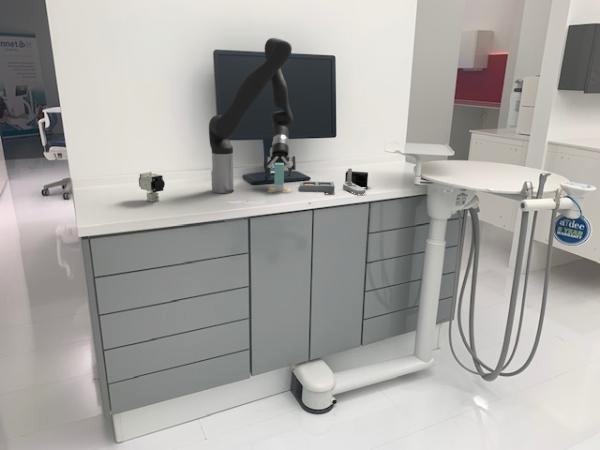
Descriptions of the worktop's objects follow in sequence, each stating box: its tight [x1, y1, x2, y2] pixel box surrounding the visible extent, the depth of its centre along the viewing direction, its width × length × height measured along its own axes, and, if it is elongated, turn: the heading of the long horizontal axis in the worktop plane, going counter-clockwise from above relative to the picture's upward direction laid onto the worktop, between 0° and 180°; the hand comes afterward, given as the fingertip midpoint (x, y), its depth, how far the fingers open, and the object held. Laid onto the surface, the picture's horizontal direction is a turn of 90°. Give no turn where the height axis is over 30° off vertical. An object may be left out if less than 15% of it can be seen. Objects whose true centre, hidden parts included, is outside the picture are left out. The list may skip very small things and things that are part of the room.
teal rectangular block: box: [273, 163, 285, 191], centre depth 213 cm, size 4×4×12 cm
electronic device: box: [342, 168, 366, 195], centre depth 218 cm, size 5×10×15 cm
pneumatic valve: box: [138, 171, 166, 203], centre depth 194 cm, size 6×12×12 cm, turn 51°
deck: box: [266, 187, 291, 194], centre depth 215 cm, size 10×8×1 cm
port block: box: [299, 180, 336, 194], centre depth 218 cm, size 16×9×4 cm, turn 89°
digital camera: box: [344, 170, 369, 188], centre depth 228 cm, size 10×5×7 cm, turn 77°
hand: (279, 176), depth 211 cm, fingers open, 8 cm apart
